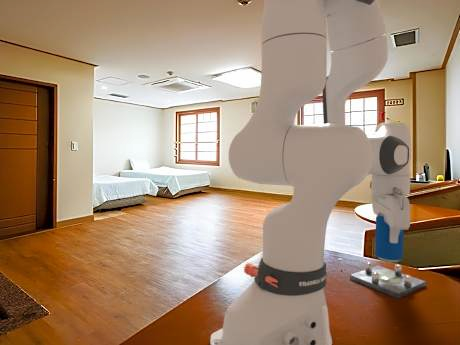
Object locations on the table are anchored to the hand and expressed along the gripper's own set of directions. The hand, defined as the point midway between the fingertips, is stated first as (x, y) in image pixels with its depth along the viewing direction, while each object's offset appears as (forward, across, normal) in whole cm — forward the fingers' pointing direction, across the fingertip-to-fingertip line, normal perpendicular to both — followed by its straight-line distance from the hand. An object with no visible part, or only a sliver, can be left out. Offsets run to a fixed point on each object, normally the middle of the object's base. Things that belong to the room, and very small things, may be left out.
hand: (388, 238), depth 78 cm
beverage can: (+6, 0, 0) cm, 6 cm away
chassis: (+12, 0, 0) cm, 12 cm away
